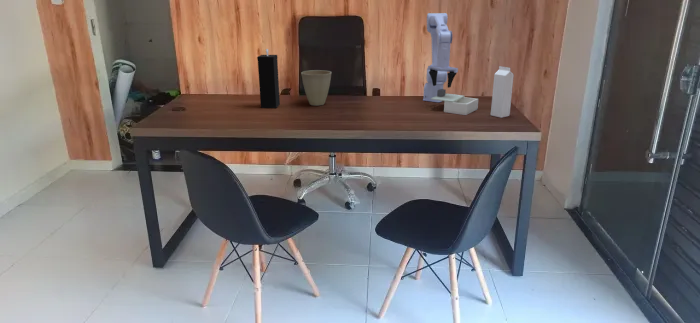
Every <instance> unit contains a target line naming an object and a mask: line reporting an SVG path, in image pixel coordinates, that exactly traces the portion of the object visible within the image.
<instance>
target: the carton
mask: <svg viewBox="0 0 700 323" xmlns="http://www.w3.org/2000/svg"><path fill="white" fill-rule="evenodd" d="M443 102H444V103H443V104H444V106H443V112H444V113H447V114H448V113H449V114H456V115H461V116H462V115H463V116H468V115H469V114H472V113H473V112H474V111H477V110H479V108H478V107H479V98H473V97H463V98H461V99H459V100H457V101H454V102H446V101H443Z"/></svg>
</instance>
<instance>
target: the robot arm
mask: <svg viewBox="0 0 700 323" xmlns="http://www.w3.org/2000/svg"><path fill="white" fill-rule="evenodd" d="M448 17H449V16H448V14H447V13H446V12H443V13H441V12H438V13H437V12H435V13H430V12H428V13H427V16H426V30H427V33H429V34H430V37H431V40H430V41H431V64H430V65H428V66H427V68H426V83H424V87H423V99H422V101H426V102H431V103H432V102H433V103H442V102H443V101H439V100H431V98H433V97H435V96H437V90H440V89H444V84H445V83H447V88H452V85H453V81H454V78H455V76H456V75H457V73H459V67H453V66H450V58H451V44H452V43H453V31H452V30H449V27H448V25H447V24H448V19H449V18H448Z"/></svg>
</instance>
